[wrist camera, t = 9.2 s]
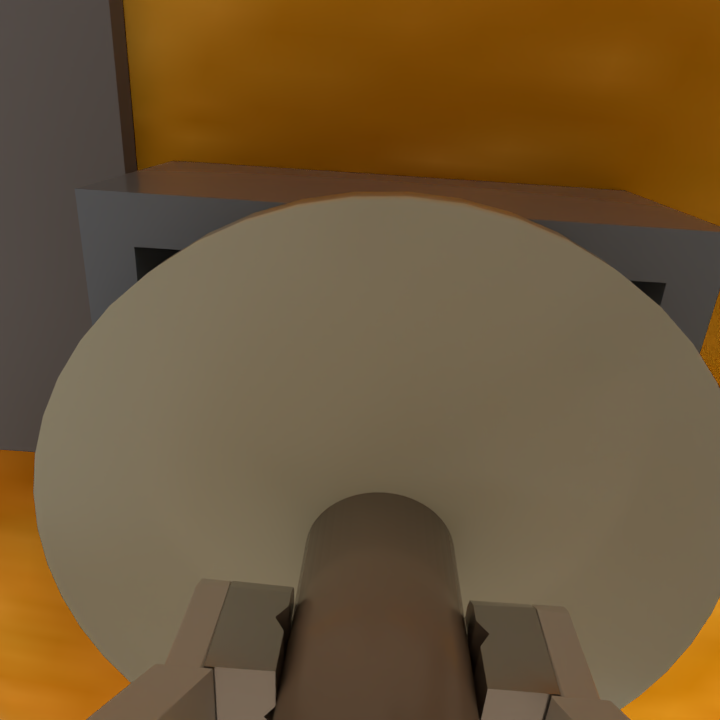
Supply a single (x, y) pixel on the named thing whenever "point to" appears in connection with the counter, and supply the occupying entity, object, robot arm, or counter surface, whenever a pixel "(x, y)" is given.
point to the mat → (52, 186)
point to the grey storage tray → (285, 185)
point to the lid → (386, 451)
